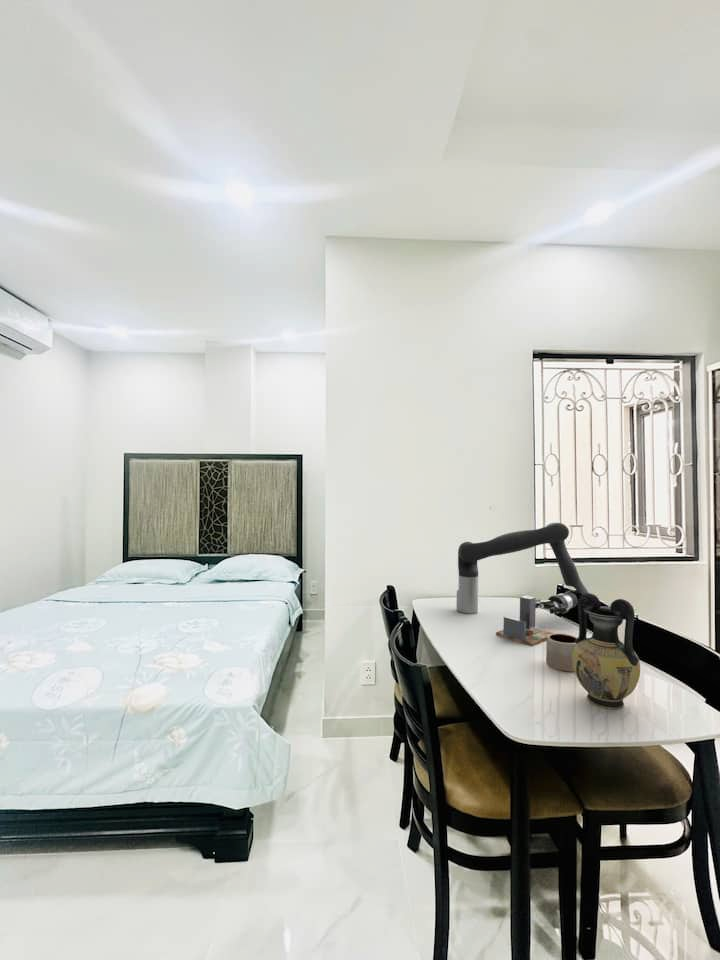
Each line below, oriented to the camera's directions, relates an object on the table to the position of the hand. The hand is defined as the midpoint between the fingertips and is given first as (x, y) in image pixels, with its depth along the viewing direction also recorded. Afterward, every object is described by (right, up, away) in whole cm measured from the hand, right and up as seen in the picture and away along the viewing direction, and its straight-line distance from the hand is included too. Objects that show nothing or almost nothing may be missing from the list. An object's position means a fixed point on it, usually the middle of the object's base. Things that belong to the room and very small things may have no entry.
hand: (541, 609), depth 195 cm
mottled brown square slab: (-9, -9, -7) cm, 15 cm away
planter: (-8, -9, -39) cm, 41 cm away
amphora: (-7, -9, -64) cm, 65 cm away
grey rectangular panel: (-16, -8, -13) cm, 22 cm away
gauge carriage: (-10, -7, -9) cm, 15 cm away
